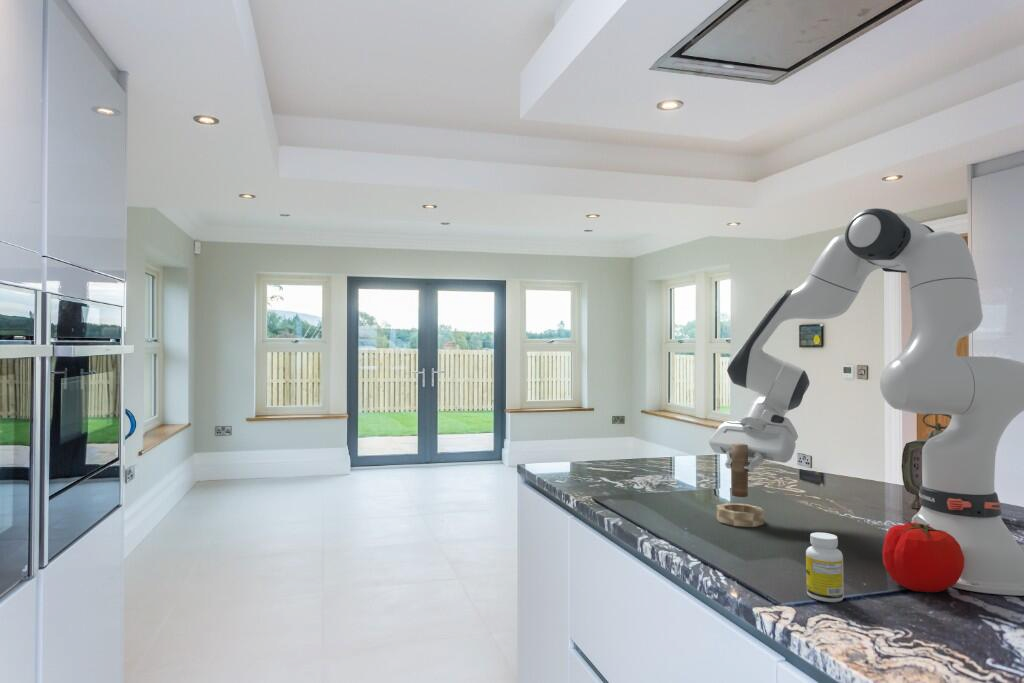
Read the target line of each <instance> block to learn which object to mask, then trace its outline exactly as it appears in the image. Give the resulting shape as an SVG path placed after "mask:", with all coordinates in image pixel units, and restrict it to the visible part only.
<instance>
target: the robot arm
mask: <svg viewBox="0 0 1024 683" xmlns="http://www.w3.org/2000/svg"><path fill="white" fill-rule="evenodd" d="M879 269H881V270H882V271H884V272H886V273H903V274H904V273H905V274H906V273H907V278H908V287H909V288H908V289H909V295H910V296H909V297H910V298H909V299H910V305H911V306H910V308H911V330H910V331H911V332H910V336H909V339H908V342H907V344H906V345H905V347H904V348H903V350H902V352H901V353H899V355H898V356H896V358H894V359H893V360H891V361H890V362H889V363H888V364H887V365H886V366H885V367H884V369H883V370H882V373H881V376H880V381H879V386H880V387H879V388H880V392H881V395H882V396H883V398H884V400H885V401H886V402H887V404H888V406H890V407H891V408H892V409H895V410H899V411H903V412H908V413H913V414H919V415H926V414H948V415H951V417H952V418H951V419H950V422H949V424H948V425H947V426H948V427H947V428H946V429H943V432H942V433H940V434H938V435H936V436H934V437H932V438H928V439H929V440H928V441H927V442H926V443H925V445H924V446H923V449H922V485H921V486H920V491H919V496H920V498H919V504H920V505H921V507H920V509H919V510H918V512H917V513H916V514H914V516H913V517H912V518H911V523H914V522H915V523H919V524H924V525H928V524H929V525H928V526H930V527H932V528H934V529H936V530H942V531H944V532H947V533H948V534H950V535H951V536H953V537H954V538H955V540H956V541H957V542H958V543H959V545H960V547H961V550H962V553H963V556H964V568H963V571H962V574H961V576H960V578H959V580H958V581H957V582H956V584H954V585H953V586H952V587H951V588H955V589H958V590H959V589H960V590H965V591H970V592H976V593H982V594H993V595H1004V596H1006V595H1007V596H1024V544H1019V543H1018V542H1017V540H1016V538H1015V537H1014V534H1013V533H1012V532H1011V531H1010V529H1009V528H1008V527H1007V525H1006V524H1005V522H1004V520H1003V519H1002V517H1001V515H1002V510H1001V509H1002V507H1001V505H1002V503H1001V502H1000V500H999V497H998V493H997V492H996V491H995V471H996V455H997V451H998V450H997V449H998V446H999V443H1000V440H1001V439H1002V436H1003V434H1004V432H1005V430H1006V428H1007V427H1008V426H1009V425H1010V423H1011V422H1012V421H1013V420H1014V419H1015V418H1016V417H1018V416H1019V415H1020V414H1021V413H1023V412H1024V362H1022V361H1020V360H1014V359H1010V358H1009V359H1008V358H1003V357H998V356H978V355H977V356H963V355H961V356H958V355H957V346H958V342H959V340H960V339H964V338H965V337H967V336H968V335H970V334H972V333H973V332H975V331H976V330H977V329H978V328H979V327H980V325H981V324H982V321H983V318H984V316H983V309H982V308H983V307H982V303H981V302H982V301H981V294H980V289H979V281H978V275H977V270H976V266H975V263H974V259H973V256H972V254H971V251H970V248H969V246H968V244H967V241H966V240H965V238H964V237H963V236H961V235H960V234H958V233H956V232H952V231H947V230H946V231H941V230H939V231H935V230H933V228H931V227H929V226H928V225H926V224H924V223H923V224H922V223H921V222H919V221H917V220H916V219H913V218H912V217H910V216H908V215H905V214H902V213H899V212H894V211H892V210H890V209H885V208H875V207H874V208H869V209H868V208H867V209H865V210H862V211H860V212H858V213H857V214H855V216H853V217H852V218H851V220H850V221H849V223H848V224H847V226H846V229H845V234H839V235H837V236H834V237H833V238H831V240H830V241H829V242H828V243H827V245H826V246H825V248H824V249H823V250H822V252H821V254H820V255H819V257H817V259H816V261H815V263H814V265H813V266H812V268H811V271H810V272H809V274H808V276H807V278H805V280H804V281H802V282H803V283H801V284H800V285H799V286H798V287H796V288H794V289H787V290H785V291H784V292H783V293H782V294H780V296H779V297H778V298H777V300H776V301H775V302H774V304H773V305H772V307H770V308H769V310H768V311H767V313H766V314H765V315H764V317H763V318H762V319H761V320H760V322H759V323H758V325H757V326H756V327H755V329H754V330H753V331H752V333H751V334H750V336H749V337H748V339H747V340H746V341H745V342H744V343H743V344H742V346H741V347H740V348H739V349H738V350H736V351H735V352H734V353H733V355H732V356H731V357H730V359H729V361H728V363H727V364H728V365H727V369H726V371H727V374H728V376H729V379H730V381H731V382H732V384H734V385H736V386H740V387H742V388H745V389H749V390H751V391H753V392H755V393H754V395H753V401H752V402H751V403H750V404H749V405H748V407H747V408H746V410H745V412H744V413H743V416H742V417H741V420H740V421H732V420H729V421H725V422H723V423H720V425H719V426H718V428H716V430H715V431H714V432H713V434H712V435H711V437H710V438H709V441H708V442H709V446H710V448H711V450H712V451H713V452H714V453H716V454H723V455H726V461H725V463H724V466H725V467H726V469H729V470H730V469H731V470H732V444H747V445H748V459H749V458H751V459H750V461H748V462H746V465H745V466H744V469H745V470H746V471H747V472H748V473H753V472H754V470H755V468H756V467H758V466H760V465H761V464H763V462H764V461H771V462H777V463H785V464H786V463H788V462H789V461H790V460H791V459H792V457H793V455H794V453H795V449H796V444H797V443H796V441H797V440H798V438H799V436H798V433H797V430H796V428H795V426H794V425H793V423H792V421H791V420H790V419H789V418H788V417H787V416H785V415H786V414H787V413H788V412H789V411H791V410H794V409H796V408H798V407H800V405H801V403H802V401H803V398H804V396H805V393H806V392H807V390H808V388H809V386H810V380H809V379H810V378H809V376H808V374H807V372H806V371H805V370H804V369H802V368H801V367H799V366H797V365H795V364H792V363H790V362H788V361H785V360H782V359H781V358H778V357H775V356H773V355H771V354H769V353H767V352H765V351H764V350H763V347H764V346H765V344H767V342H768V341H769V339H770V338H771V336H772V335H774V333H775V331H776V330H777V329H778V327H779V326H780V325H781V324H783V323H784V322H785V321H788V320H793V319H794V320H795V319H799V320H800V319H802V320H829V319H834V318H838V317H839V316H842V315H844V314H845V313H846V312H847V311H848V310H849V309H850V307H851V306H852V304H853V303H854V301H855V300H856V298H857V296H858V295H859V292H861V289H862V287H863V285H864V282H865V281H866V279H867V278H868V277H869V276H870V274H871V273H872V272H874V271H876V270H879ZM948 531H949V532H948Z"/></svg>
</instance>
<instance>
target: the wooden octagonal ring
mask: <svg viewBox="0 0 1024 683" xmlns="http://www.w3.org/2000/svg"><path fill="white" fill-rule="evenodd" d="M716 520H718V523H722V524H725V525H729V526H733V527H745V528H746V527H747V528H754V527H760V526H762V525H763V526H764V525H765V510H764V509H763V508H762V507H760V506H756V505H752V504H748V503H737V502H735V503H734V502H733V503H732V502H726V503H721V504H716Z"/></svg>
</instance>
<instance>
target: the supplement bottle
mask: <svg viewBox="0 0 1024 683" xmlns="http://www.w3.org/2000/svg"><path fill="white" fill-rule="evenodd" d="M809 537H810V538H809V539H810V544H811V546H808V547H807V548H806V550H805V566H806V567H805V572H806V573H805V575H806V576H805V577H806V581H805V582H806V593H807V595H808V596H809V598H811V599H814V600H817V601H821V602H825V603H826V602H827V603H839V602H842V601H843V599H844V598H845V587H844V585H845V584H844V580H845V578H844V556H843V553H842V551H841V550H839V549H838V546H839V540H838V536H837V535H836V534H832V533H828V532H812V533H810V536H809Z"/></svg>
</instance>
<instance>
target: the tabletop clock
mask: <svg viewBox="0 0 1024 683" xmlns="http://www.w3.org/2000/svg"><path fill="white" fill-rule="evenodd" d="M933 415H934V416H935V415H936V416H939V415H940V416H944V417H947V418H949V419H950V420H951V418H952V415H951V414H923V417H922V420H921V421H922V423H923V425H925V426H927V427H928V428H931V429H933V430H930V431H929V432H928V433H927V434H926V435H925V436H926V437H925V438H921V439H917V440H913V441H910V442H906V443H905V445H904V447H903V450H902V455H901V457H902V458H901V474H902V483H903V486H904V488H905V491H906V492H908V493H910V494H912V495H913V496H914V499H913V500H911V501H909V502H908V506H909V507H910V508H912V507H913V508H916V507H917V503H916V502H917V501H918V500H920V496H919V491H920V486H921V485H922V449H923V446H924V445H925V443H926V442H927V441H928V440H929V439H930V438H932V437H934V436H936V435H938V434H940V433H942V432H943V431H944V430H945V429H946V428H947V427H948V425H945V426H943V425H942V424H941V423H940V422H936V423H935V425H933V424H929V423H928V422H926V421H925V419H926V418H927V417H929V416H933Z"/></svg>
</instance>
